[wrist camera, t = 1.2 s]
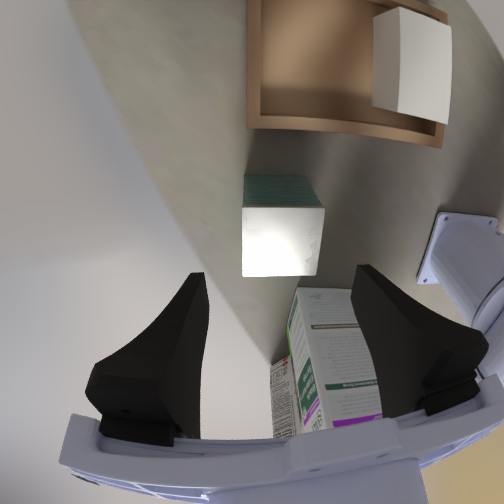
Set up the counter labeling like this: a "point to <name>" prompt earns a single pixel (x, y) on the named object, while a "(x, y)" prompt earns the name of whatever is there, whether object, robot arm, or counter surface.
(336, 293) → the syrup box
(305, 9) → the wooden tray
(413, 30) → the white rectangular block
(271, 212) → the tea tin
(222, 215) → the counter surface
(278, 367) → the juice carton
